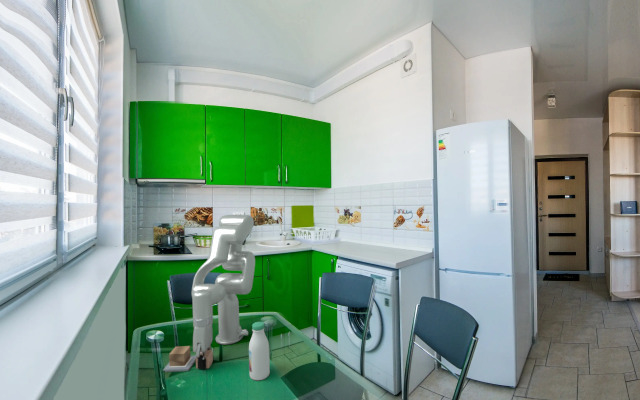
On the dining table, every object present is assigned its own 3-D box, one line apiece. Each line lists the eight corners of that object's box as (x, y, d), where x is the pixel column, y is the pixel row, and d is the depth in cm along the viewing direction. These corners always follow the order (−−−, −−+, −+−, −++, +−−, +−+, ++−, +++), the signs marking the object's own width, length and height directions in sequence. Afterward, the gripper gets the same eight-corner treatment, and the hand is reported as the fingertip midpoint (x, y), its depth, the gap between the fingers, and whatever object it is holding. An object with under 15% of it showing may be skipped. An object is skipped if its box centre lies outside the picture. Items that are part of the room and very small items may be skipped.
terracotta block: (212, 361, 127) (212, 349, 127) (208, 368, 122) (208, 356, 122) (200, 361, 127) (200, 349, 127) (196, 368, 122) (195, 356, 122)
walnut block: (190, 357, 129) (190, 346, 129) (184, 365, 123) (184, 353, 123) (176, 358, 129) (175, 346, 129) (169, 366, 123) (169, 354, 123)
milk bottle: (273, 370, 120) (272, 320, 119) (263, 382, 112) (262, 329, 112) (256, 367, 122) (254, 318, 122) (245, 378, 115) (243, 326, 114)
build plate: (198, 357, 131) (197, 355, 131) (188, 370, 121) (188, 368, 121) (174, 357, 131) (174, 355, 131) (163, 371, 121) (162, 369, 121)
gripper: (201, 312, 133) (203, 353, 133) (185, 330, 116) (186, 377, 116) (218, 312, 133) (220, 352, 133) (204, 329, 116) (206, 376, 116)
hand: (204, 363), depth 125 cm, fingers closed on terracotta block, 5 cm apart
